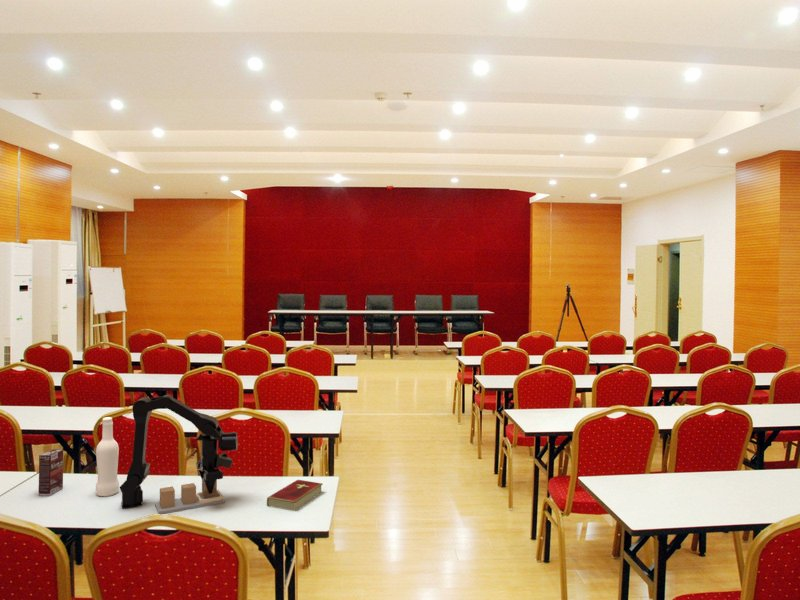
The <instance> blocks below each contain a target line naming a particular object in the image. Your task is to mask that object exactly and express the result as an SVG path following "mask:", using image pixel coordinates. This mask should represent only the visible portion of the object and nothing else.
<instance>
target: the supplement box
mask: <svg viewBox="0 0 800 600" xmlns="http://www.w3.org/2000/svg"><path fill="white" fill-rule="evenodd" d="M38 457H39V458H38V496H40V497H51V496H52V495H53V494H56V493H58V492H60V491H61V490H63V488H64V449H58V448H57V449H55V448H54V449H51V450H49V451H47V452H44V453H42V454H39V455H38Z"/></svg>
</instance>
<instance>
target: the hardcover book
mask: <svg viewBox="0 0 800 600" xmlns="http://www.w3.org/2000/svg"><path fill="white" fill-rule="evenodd" d="M322 486H323V483H321V482H317V481H309V480H303V479H296V480H294V481H293V482H292V483H289V484H287V485H286V486H285V487H282V488H281V489H279V490H278V491H276V492H274V493H273V494H271V495H269V496H268V497H267V498H266V507H271V506H272V507H271V508H275V509H276V508H278V509H283V510H288V511H293V512H294V511H296V510H298V509H299V508H300V507H302V506H303V505H305V504H306V503H307V501H308V502H309V501H311V500H312V499H314V498H315V497H317V496H318V495H320V494H321V493H322ZM320 492H321V493H320ZM319 493H320V494H319ZM317 494H318V495H317ZM316 495H317V496H316ZM314 496H315V497H314ZM313 497H314V498H313ZM311 498H312V499H311ZM310 499H311V500H310Z"/></svg>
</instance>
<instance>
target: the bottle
mask: <svg viewBox="0 0 800 600" xmlns="http://www.w3.org/2000/svg"><path fill="white" fill-rule="evenodd" d="M101 421H102V424H101V425H102V434H101V435H102V436H101V437H102V438H101V440H100V441H99V443H98V444H97V445H96V449H95V451H96V453H95V455H96V456H95V457H96V470H97V482H96V485H95V492H96V496H98V497H102V496H104V497H110V496H114V495H116V494H117V493H118V492H119V490H120V482H119V480H118V469H119V468H118V467H119V453H120V452H119V451H120V447H119V444H118V442H117V441H116V440H115V438H114V435H113V434H114V430H113V429H114V427H113V426H114V422H113V417H111V416H107V417H106V416H105V417H103V418H102V420H101Z"/></svg>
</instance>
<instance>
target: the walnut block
mask: <svg viewBox="0 0 800 600" xmlns="http://www.w3.org/2000/svg"><path fill="white" fill-rule="evenodd" d="M217 483H218V479H217V480H216V481H215V485H214V488H213V492H212V493H211V494H209V492H208V490H207V487H206V485H205V482H204V480H203V478H201V492H202V495H203V496H204V498H206V497H211V496H217V490H218V489H217V488H218V484H217Z"/></svg>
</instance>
